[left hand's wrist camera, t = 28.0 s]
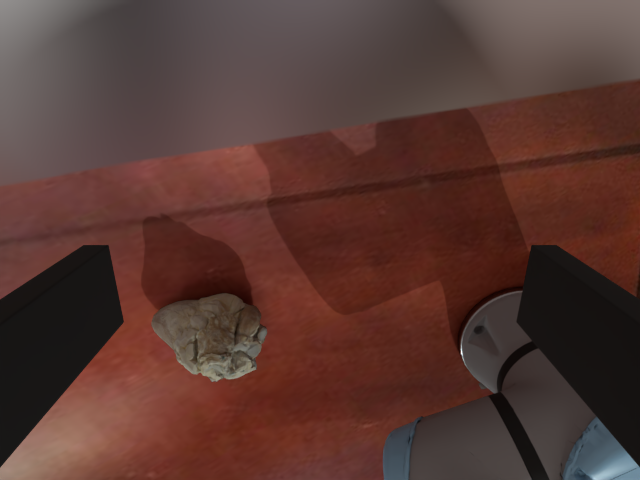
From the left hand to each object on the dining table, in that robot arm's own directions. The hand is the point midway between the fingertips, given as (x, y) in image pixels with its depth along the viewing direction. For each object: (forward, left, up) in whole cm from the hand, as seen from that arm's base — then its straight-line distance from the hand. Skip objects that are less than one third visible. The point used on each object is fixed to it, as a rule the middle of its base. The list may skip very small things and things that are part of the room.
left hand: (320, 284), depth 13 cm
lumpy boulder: (+22, +17, -36) cm, 45 cm away
